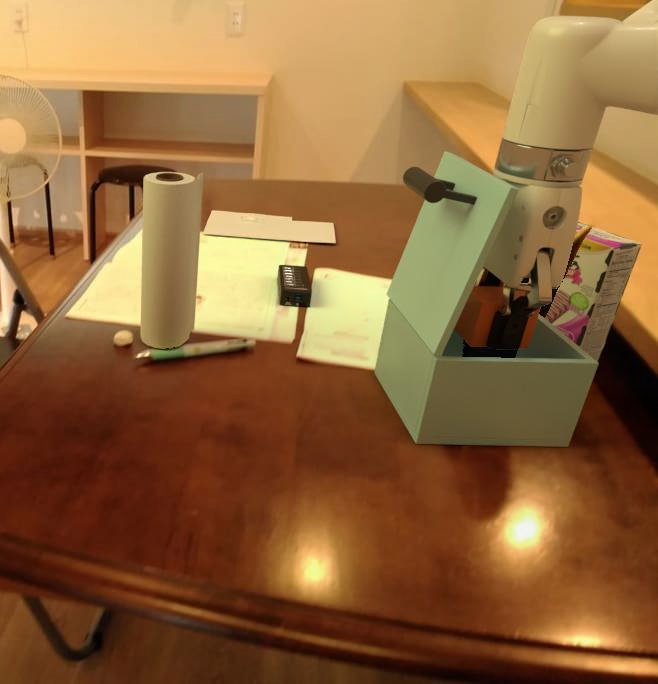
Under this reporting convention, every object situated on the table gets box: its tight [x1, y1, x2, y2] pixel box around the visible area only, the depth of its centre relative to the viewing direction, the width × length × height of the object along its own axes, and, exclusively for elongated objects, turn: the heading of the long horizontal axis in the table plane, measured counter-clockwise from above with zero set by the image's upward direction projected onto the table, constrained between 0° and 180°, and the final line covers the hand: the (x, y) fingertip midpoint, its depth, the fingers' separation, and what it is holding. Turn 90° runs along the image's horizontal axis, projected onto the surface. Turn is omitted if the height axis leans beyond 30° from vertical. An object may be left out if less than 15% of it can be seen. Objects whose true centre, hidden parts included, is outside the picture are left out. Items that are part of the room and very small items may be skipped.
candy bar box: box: [545, 221, 643, 363], centre depth 85 cm, size 11×5×16 cm, turn 22°
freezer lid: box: [386, 151, 519, 356], centre depth 68 cm, size 16×15×6 cm
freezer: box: [373, 298, 599, 448], centre depth 74 cm, size 16×15×10 cm
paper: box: [202, 209, 337, 244], centre depth 133 cm, size 25×17×1 cm
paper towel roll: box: [139, 171, 205, 350], centre depth 85 cm, size 7×6×21 cm
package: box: [454, 286, 541, 348], centre depth 71 cm, size 6×4×5 cm
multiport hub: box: [276, 264, 313, 308], centre depth 104 cm, size 4×11×2 cm, turn 172°
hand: (490, 335), depth 72 cm, fingers closed on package, 4 cm apart
